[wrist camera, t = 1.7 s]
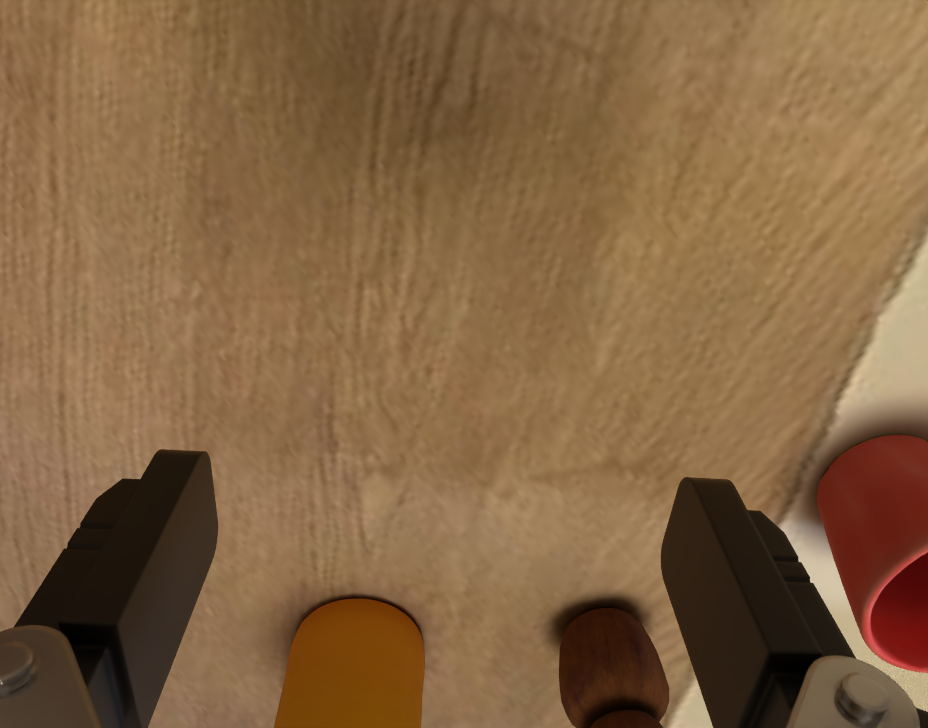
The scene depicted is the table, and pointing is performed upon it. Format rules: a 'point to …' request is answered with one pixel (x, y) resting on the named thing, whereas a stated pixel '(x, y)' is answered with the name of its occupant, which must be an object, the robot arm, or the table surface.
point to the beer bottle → (354, 669)
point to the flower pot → (882, 542)
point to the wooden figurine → (611, 673)
